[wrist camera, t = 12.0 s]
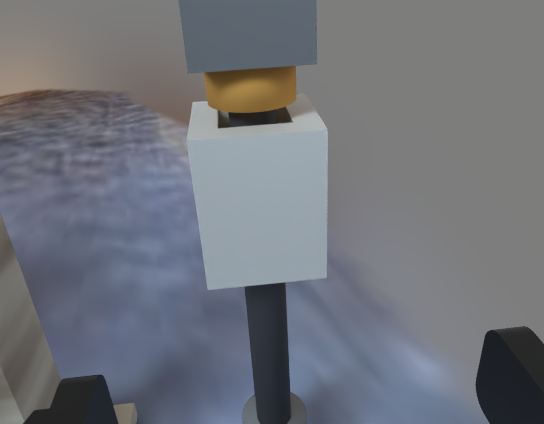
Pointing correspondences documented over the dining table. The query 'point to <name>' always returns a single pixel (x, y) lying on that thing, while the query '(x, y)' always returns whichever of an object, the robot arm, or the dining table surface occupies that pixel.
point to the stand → (27, 348)
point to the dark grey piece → (249, 112)
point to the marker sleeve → (260, 195)
